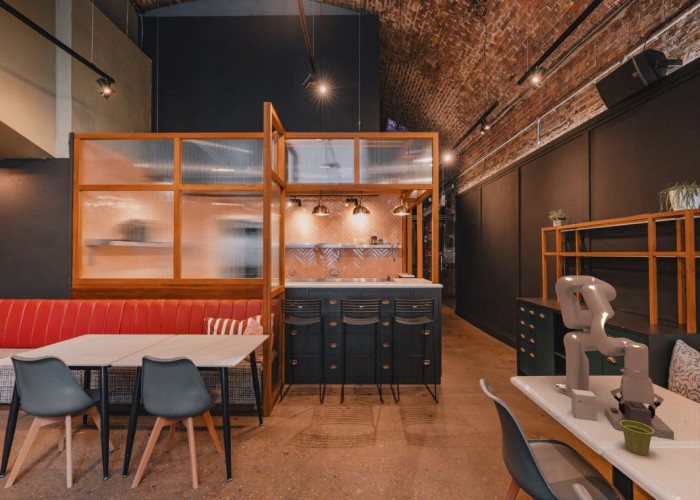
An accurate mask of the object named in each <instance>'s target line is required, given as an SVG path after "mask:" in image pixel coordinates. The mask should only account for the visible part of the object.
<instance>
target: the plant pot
mask: <svg viewBox="0 0 700 500" xmlns="http://www.w3.org/2000/svg"><path fill="white" fill-rule="evenodd" d="M620 425H621V426H622V429H623V431H622V432H623V436H624V437H623V438H624V442H625V448H626V450H628V451H630V452H632V453H633V454H634V453H636V454H638V455H641V456H647V455H648V454H649V453H650V452H649V451H650V445H651V440H652V437H653V436H652V434H653V433H654V430H653V429H652V428H651V427H649V426H647V425H645V424H643V423H640V422H636V421H631V420H622V421H620Z"/></svg>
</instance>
